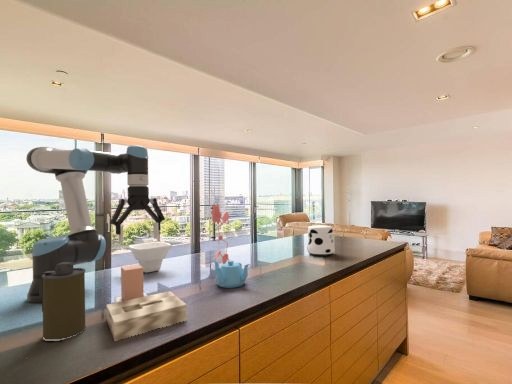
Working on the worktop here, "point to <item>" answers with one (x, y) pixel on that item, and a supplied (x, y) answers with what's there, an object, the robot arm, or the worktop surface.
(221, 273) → the teapot
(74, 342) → the worktop surface
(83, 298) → the canister
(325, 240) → the milk container
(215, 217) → the pink leafy branch
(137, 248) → the bowl
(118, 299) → the frame
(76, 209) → the robot arm
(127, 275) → the stud block
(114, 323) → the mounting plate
